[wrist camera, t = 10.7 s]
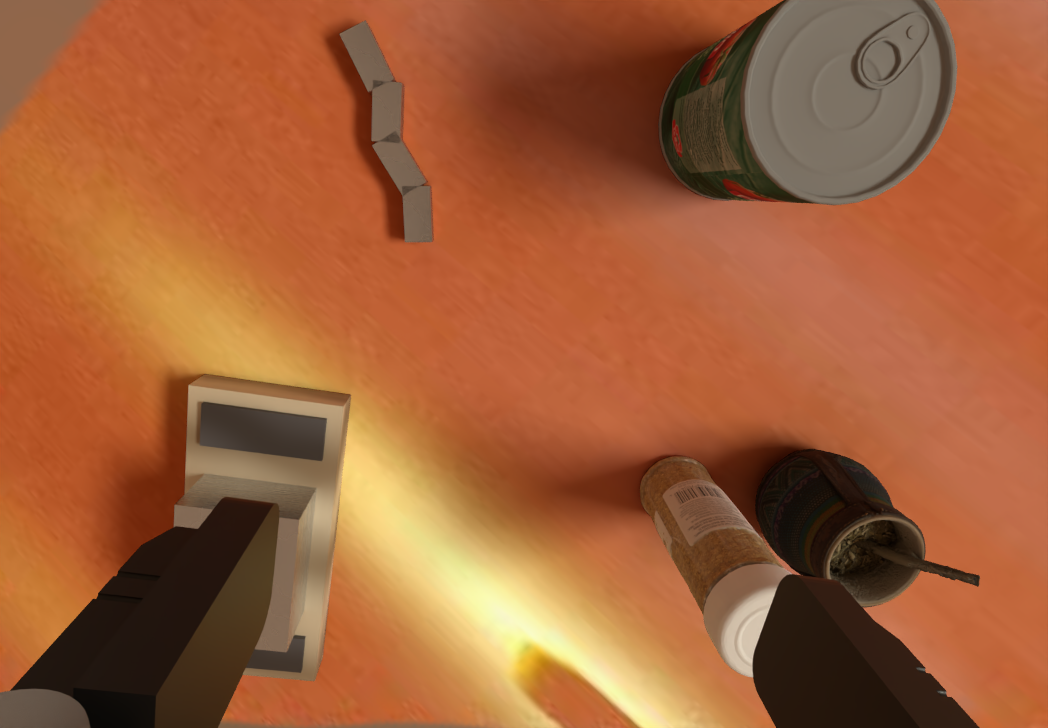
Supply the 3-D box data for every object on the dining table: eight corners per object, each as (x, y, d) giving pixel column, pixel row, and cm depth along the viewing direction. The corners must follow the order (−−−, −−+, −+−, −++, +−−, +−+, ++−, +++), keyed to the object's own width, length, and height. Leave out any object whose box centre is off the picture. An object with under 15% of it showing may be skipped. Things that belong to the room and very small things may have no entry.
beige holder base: (204, 374, 35) (125, 427, 27) (350, 394, 35) (315, 452, 28) (192, 645, 39) (122, 757, 31) (322, 657, 40) (285, 769, 32)
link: (204, 473, 34) (174, 504, 31) (316, 487, 35) (299, 520, 31) (198, 598, 36) (169, 640, 33) (304, 609, 37) (286, 652, 33)
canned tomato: (719, 231, 34) (825, 250, 24) (627, 119, 32) (697, 86, 22) (834, 126, 33) (998, 97, 23) (745, 4, 31) (879, -90, 21)
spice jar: (630, 513, 39) (705, 677, 26) (648, 447, 38) (736, 582, 25) (699, 524, 39) (807, 689, 26) (720, 458, 38) (842, 598, 25)
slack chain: (341, 32, 30) (337, 27, 29) (386, 21, 30) (383, 15, 29) (404, 247, 33) (402, 249, 32) (445, 237, 33) (444, 238, 32)
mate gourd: (734, 449, 38) (823, 535, 28) (853, 423, 38) (982, 500, 29) (745, 551, 40) (832, 664, 30) (859, 525, 40) (981, 630, 31)
